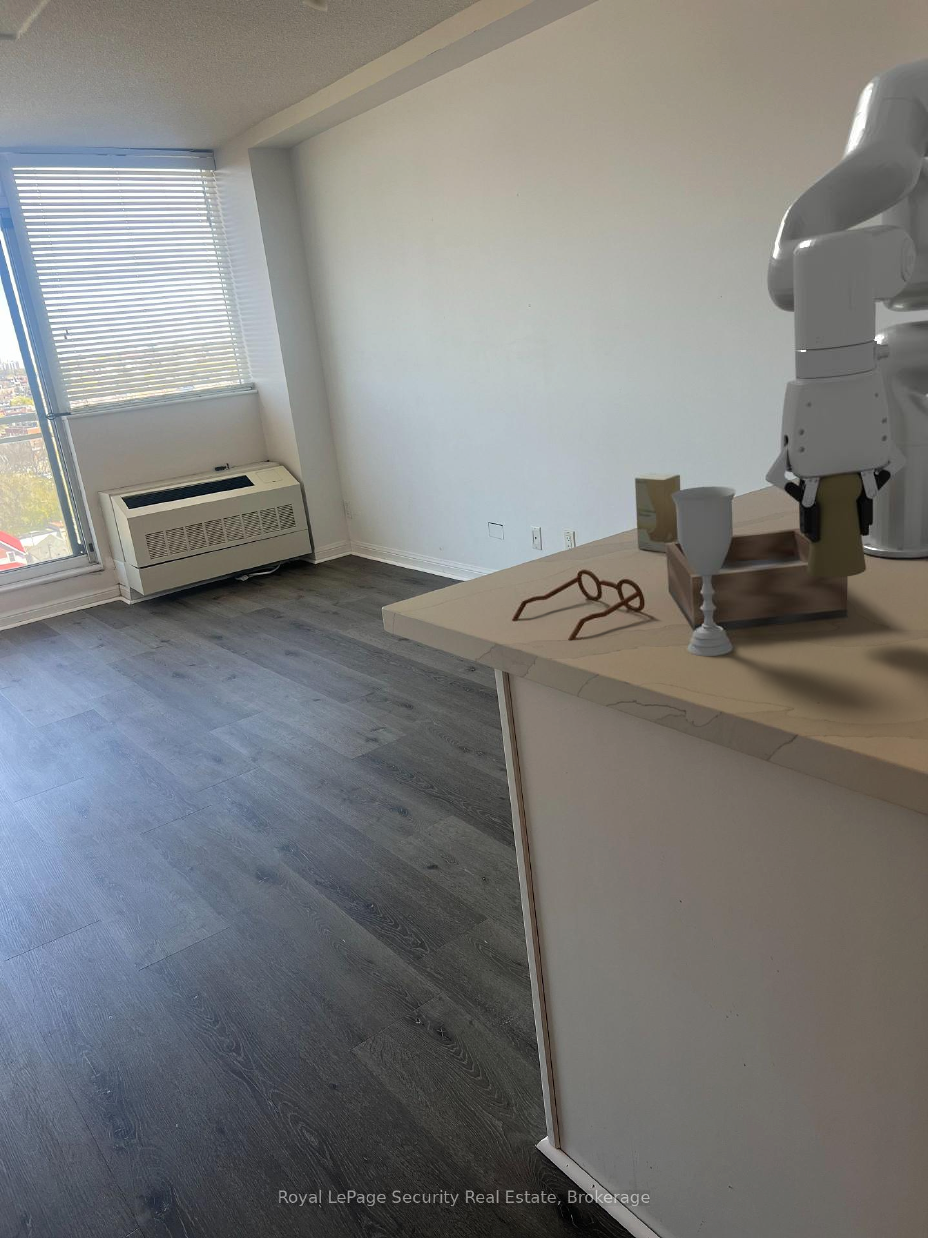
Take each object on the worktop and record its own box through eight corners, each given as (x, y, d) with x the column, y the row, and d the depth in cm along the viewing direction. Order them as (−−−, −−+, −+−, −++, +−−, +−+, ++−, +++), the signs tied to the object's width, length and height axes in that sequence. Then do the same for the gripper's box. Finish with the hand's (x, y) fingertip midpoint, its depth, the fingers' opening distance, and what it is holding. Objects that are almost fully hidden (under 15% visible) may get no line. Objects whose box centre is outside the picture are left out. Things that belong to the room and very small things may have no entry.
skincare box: (637, 549, 148) (632, 477, 144) (653, 543, 150) (648, 472, 147) (668, 553, 143) (664, 478, 139) (684, 546, 146) (680, 473, 142)
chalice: (671, 642, 104) (662, 492, 99) (727, 633, 104) (721, 483, 99) (691, 663, 97) (683, 502, 92) (751, 654, 97) (746, 493, 92)
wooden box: (799, 577, 122) (799, 528, 120) (847, 617, 105) (847, 560, 103) (668, 591, 123) (665, 542, 121) (694, 632, 106) (691, 577, 104)
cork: (872, 574, 93) (872, 472, 90) (811, 579, 95) (809, 478, 91) (859, 558, 99) (859, 461, 95) (802, 563, 100) (800, 467, 97)
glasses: (647, 616, 116) (645, 580, 114) (570, 643, 109) (566, 605, 108) (583, 599, 126) (580, 565, 125) (510, 623, 120) (506, 588, 119)
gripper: (904, 349, 92) (901, 517, 98) (741, 373, 94) (748, 537, 100) (937, 352, 85) (932, 534, 91) (760, 378, 87) (766, 555, 93)
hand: (835, 534), depth 95 cm, fingers closed on cork, 4 cm apart
